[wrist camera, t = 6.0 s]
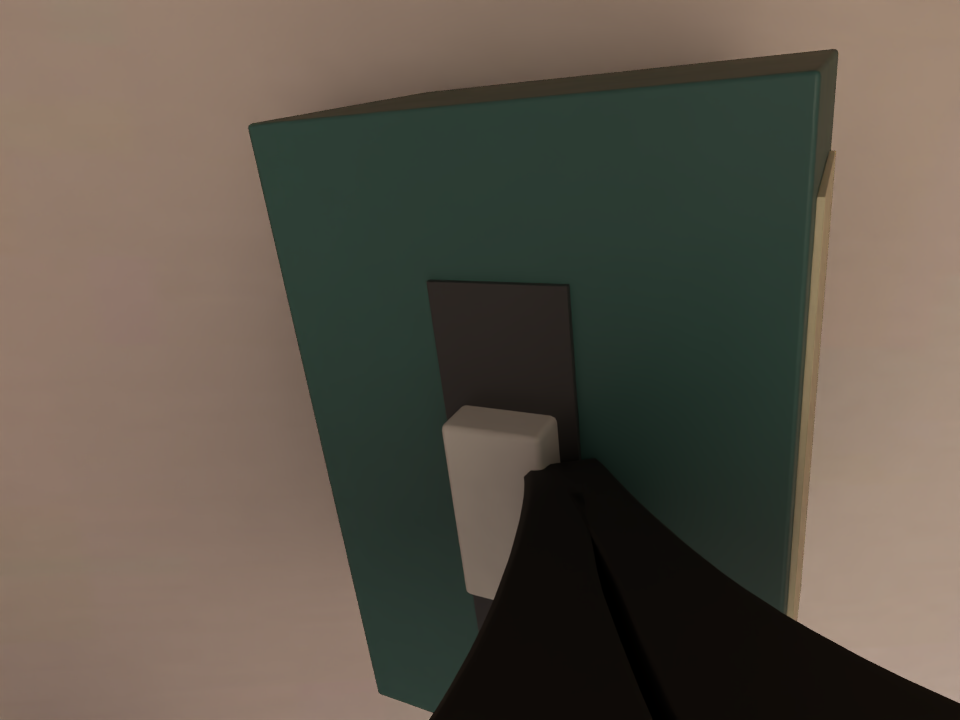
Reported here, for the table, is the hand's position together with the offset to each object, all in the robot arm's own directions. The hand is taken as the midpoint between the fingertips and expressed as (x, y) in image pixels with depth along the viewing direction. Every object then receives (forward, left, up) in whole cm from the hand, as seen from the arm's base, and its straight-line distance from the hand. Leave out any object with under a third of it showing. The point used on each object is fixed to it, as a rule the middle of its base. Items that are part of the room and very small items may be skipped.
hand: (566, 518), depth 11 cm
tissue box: (0, +3, -5) cm, 6 cm away
